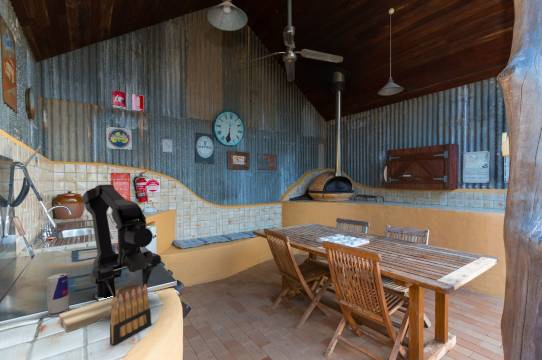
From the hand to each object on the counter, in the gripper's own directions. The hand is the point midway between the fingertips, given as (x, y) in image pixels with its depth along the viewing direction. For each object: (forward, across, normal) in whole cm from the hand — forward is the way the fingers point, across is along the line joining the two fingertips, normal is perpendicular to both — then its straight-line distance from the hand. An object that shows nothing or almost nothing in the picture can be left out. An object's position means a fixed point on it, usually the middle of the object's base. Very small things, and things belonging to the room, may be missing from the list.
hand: (130, 291), depth 84 cm
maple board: (+6, -5, +7) cm, 11 cm away
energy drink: (+6, -15, +18) cm, 25 cm away
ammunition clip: (+7, -5, -14) cm, 16 cm away
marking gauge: (+6, 0, +4) cm, 7 cm away
